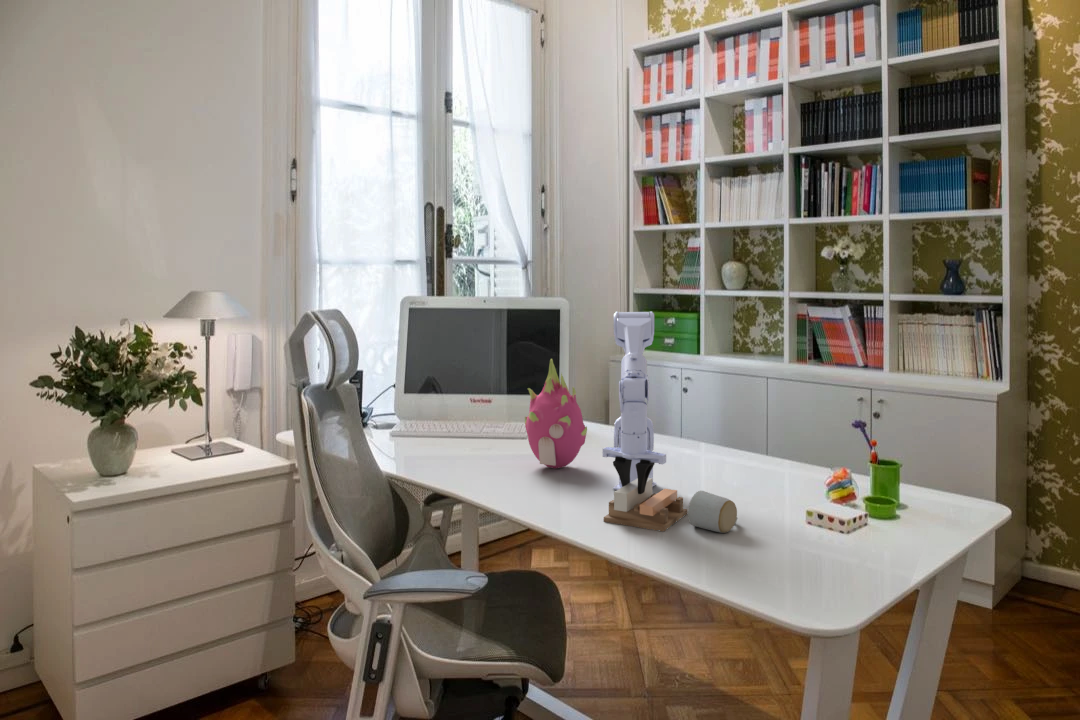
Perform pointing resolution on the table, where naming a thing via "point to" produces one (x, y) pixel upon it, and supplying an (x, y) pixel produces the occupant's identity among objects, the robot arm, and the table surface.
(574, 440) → the pink dragon fruit
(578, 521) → the table surface
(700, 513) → the grey cylinder
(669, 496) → the fired strip
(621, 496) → the pale grey bar
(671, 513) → the slotted wooden stand
